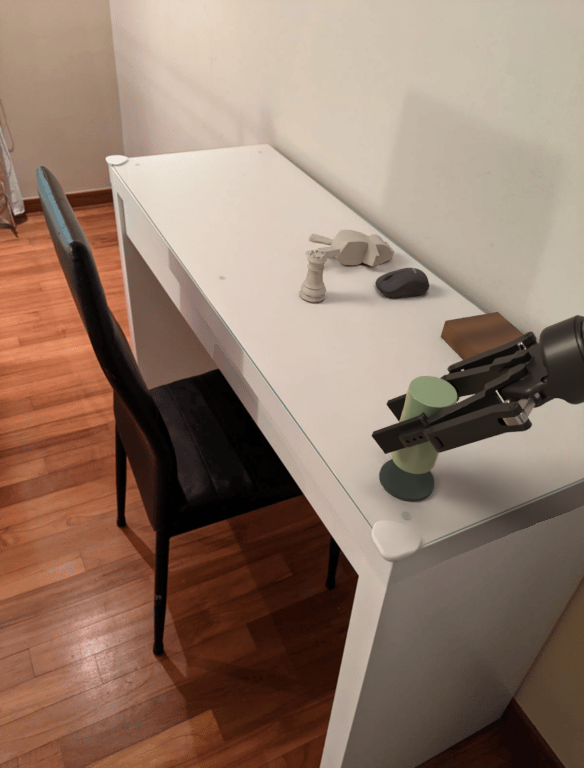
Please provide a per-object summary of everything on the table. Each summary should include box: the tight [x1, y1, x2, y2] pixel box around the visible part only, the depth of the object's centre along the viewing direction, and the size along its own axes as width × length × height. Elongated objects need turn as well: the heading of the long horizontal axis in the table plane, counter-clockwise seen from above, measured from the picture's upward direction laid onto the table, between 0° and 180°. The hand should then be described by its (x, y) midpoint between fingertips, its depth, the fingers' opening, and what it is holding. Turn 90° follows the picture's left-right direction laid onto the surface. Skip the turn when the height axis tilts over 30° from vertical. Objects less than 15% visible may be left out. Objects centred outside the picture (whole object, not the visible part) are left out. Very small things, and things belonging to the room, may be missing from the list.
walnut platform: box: [440, 311, 525, 360], centre depth 93 cm, size 10×10×3 cm
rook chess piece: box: [299, 248, 328, 304], centre depth 99 cm, size 4×4×8 cm
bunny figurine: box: [308, 229, 395, 267], centre depth 111 cm, size 10×5×15 cm
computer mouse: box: [374, 267, 430, 299], centre depth 104 cm, size 6×9×4 cm, turn 104°
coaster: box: [378, 459, 435, 502], centre depth 71 cm, size 6×6×1 cm
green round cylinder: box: [390, 375, 457, 474], centre depth 66 cm, size 5×5×10 cm
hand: (387, 426), depth 68 cm, fingers closed on green round cylinder, 5 cm apart
